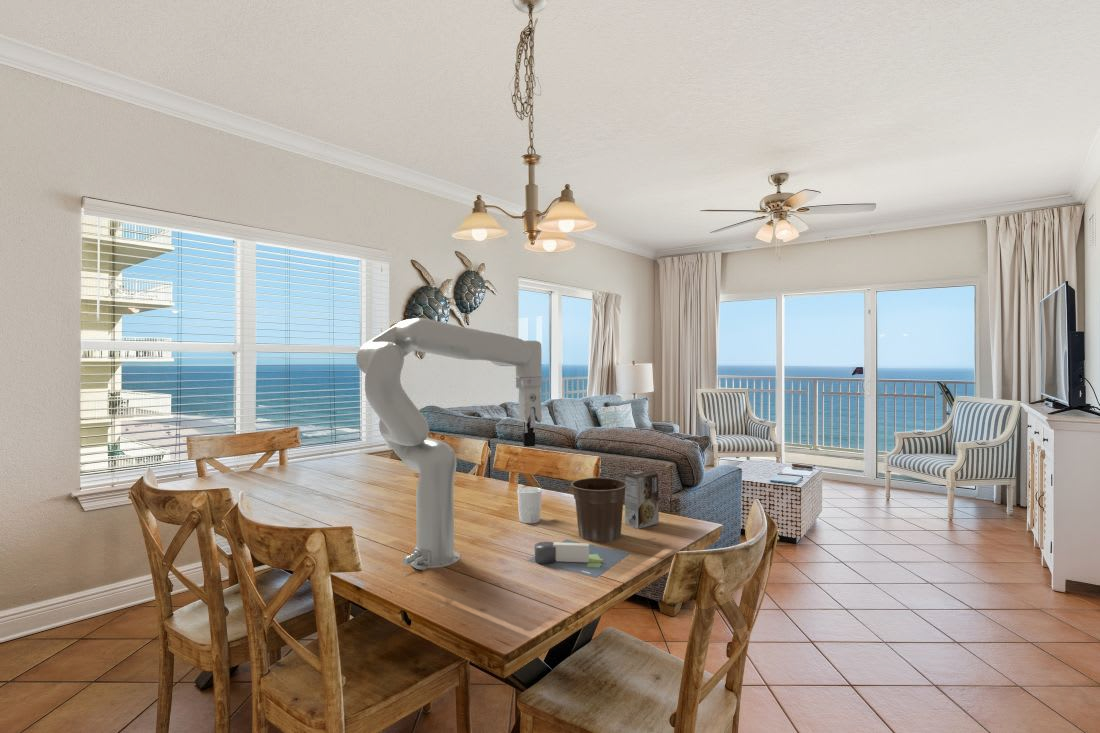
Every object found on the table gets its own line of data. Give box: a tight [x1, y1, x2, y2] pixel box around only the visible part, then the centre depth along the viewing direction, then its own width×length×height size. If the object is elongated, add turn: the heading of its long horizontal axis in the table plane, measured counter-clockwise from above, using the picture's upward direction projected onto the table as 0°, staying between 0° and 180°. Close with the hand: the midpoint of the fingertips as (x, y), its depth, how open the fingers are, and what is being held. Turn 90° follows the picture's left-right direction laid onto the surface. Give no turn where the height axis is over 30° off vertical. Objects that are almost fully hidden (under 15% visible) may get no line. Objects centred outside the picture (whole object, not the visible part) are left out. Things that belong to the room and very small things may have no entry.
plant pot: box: [570, 477, 627, 543], centre depth 159 cm, size 16×16×16 cm
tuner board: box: [527, 538, 631, 579], centre depth 142 cm, size 19×20×1 cm
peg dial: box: [534, 541, 603, 564], centre depth 139 cm, size 17×6×4 cm, turn 83°
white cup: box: [517, 486, 543, 524], centre depth 176 cm, size 8×8×10 cm
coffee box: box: [624, 469, 660, 530], centre depth 172 cm, size 9×6×16 cm
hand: (529, 445), depth 159 cm, fingers closed
